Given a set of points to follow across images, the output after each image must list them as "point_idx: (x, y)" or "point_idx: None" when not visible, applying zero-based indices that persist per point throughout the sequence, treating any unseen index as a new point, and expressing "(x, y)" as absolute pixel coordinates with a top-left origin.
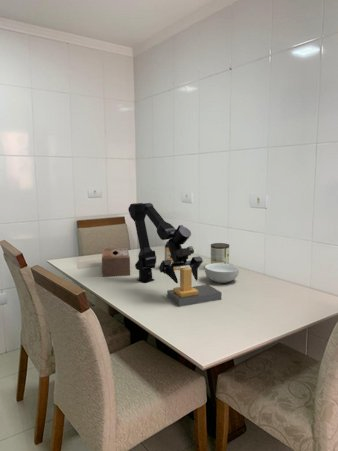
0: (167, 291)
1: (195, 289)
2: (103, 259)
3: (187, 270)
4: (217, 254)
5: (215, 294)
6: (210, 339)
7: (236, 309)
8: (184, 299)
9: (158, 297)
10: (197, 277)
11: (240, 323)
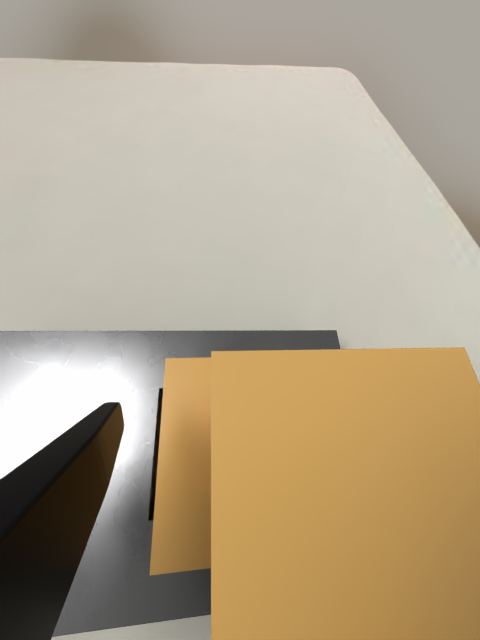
0: None
1: (169, 403)
2: None
3: (343, 354)
4: None
5: (45, 334)
6: (298, 110)
7: (73, 207)
8: (296, 332)
9: None
10: (88, 415)
11: (161, 129)
